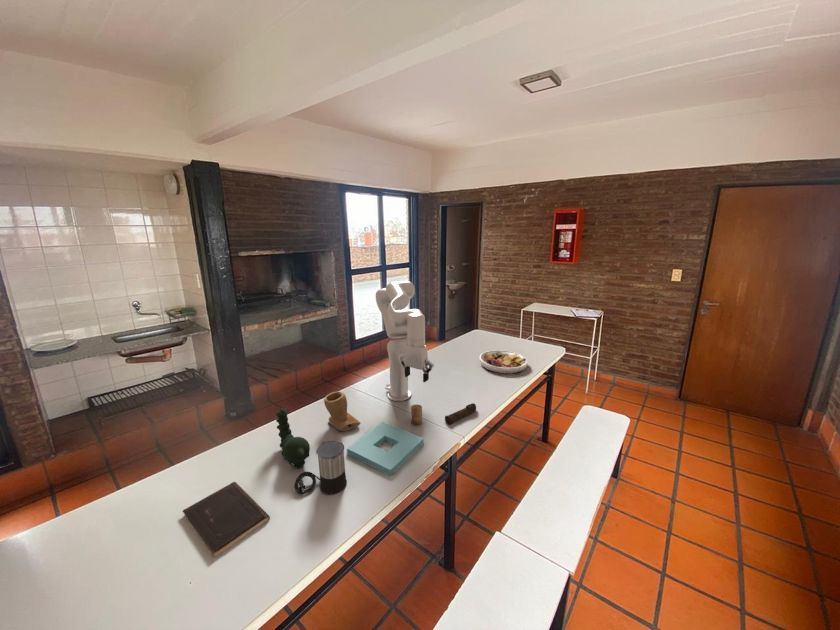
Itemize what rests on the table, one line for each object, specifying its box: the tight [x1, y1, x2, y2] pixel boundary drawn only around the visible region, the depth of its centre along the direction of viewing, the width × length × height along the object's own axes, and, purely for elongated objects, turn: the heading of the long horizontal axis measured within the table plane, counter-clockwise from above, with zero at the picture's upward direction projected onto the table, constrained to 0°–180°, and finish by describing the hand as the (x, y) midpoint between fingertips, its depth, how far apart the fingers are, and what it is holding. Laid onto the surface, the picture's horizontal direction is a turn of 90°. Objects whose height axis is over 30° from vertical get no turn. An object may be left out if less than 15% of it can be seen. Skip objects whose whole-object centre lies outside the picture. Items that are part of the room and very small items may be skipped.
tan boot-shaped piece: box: [323, 391, 361, 432], centre depth 150 cm, size 15×12×15 cm
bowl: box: [479, 349, 528, 374], centre depth 215 cm, size 30×30×8 cm
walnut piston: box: [410, 404, 423, 427], centre depth 152 cm, size 5×5×8 cm
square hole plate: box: [346, 421, 425, 477], centre depth 135 cm, size 22×22×2 cm
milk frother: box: [293, 440, 348, 496], centre depth 114 cm, size 14×16×15 cm
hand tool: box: [444, 402, 477, 425], centre depth 157 cm, size 19×4×5 cm, turn 125°
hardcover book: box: [182, 481, 271, 558], centre depth 103 cm, size 16×23×2 cm
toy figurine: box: [275, 408, 311, 469], centre depth 128 cm, size 9×19×25 cm
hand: (416, 378), depth 147 cm, fingers open, 9 cm apart
